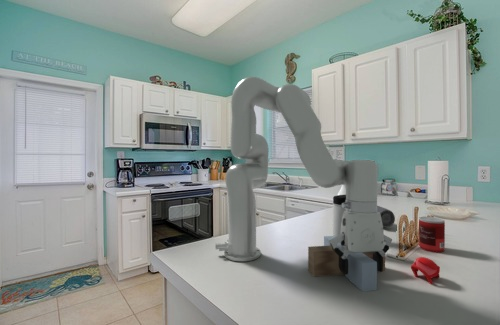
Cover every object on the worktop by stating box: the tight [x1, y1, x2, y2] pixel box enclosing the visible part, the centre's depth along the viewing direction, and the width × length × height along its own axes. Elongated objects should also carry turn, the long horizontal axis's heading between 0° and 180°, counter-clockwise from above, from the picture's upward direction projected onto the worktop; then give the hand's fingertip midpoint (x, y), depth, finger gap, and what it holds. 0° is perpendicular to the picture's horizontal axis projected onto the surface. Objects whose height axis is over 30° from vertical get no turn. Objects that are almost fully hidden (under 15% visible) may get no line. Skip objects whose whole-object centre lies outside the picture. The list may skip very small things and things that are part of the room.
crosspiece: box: [323, 235, 378, 292], centre depth 73 cm, size 22×4×7 cm, turn 8°
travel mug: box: [332, 194, 346, 236], centre depth 91 cm, size 6×7×20 cm
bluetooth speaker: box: [377, 205, 396, 228], centre depth 127 cm, size 23×9×10 cm, turn 6°
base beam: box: [307, 245, 386, 277], centre depth 73 cm, size 22×4×7 cm, turn 98°
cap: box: [410, 256, 441, 285], centre depth 68 cm, size 8×6×6 cm
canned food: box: [418, 216, 446, 253], centre depth 91 cm, size 8×8×11 cm
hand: (360, 270), depth 66 cm, fingers open, 9 cm apart
